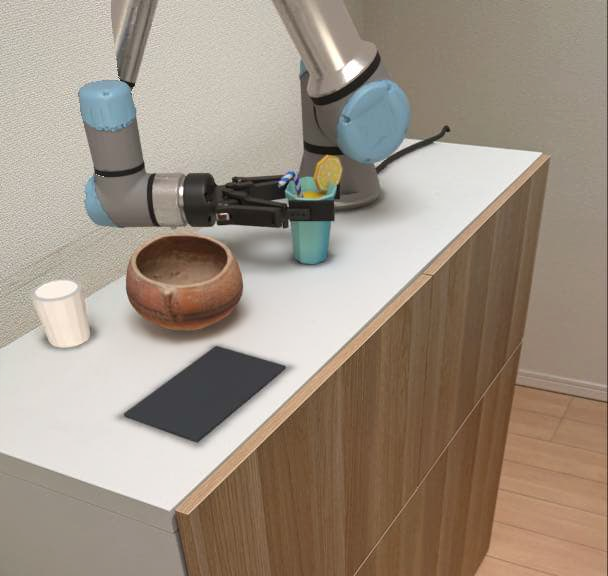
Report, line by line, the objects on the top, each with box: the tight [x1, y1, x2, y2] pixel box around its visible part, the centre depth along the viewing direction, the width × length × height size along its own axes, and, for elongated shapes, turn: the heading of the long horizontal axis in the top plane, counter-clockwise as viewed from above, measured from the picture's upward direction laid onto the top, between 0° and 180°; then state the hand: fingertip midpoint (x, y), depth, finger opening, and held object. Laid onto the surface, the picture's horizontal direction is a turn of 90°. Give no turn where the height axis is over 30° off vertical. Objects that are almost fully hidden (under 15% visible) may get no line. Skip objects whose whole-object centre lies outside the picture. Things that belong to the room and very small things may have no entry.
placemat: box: [123, 345, 287, 443], centre depth 94 cm, size 18×11×1 cm, turn 148°
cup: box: [277, 155, 343, 265], centre depth 115 cm, size 14×8×15 cm, turn 145°
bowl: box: [125, 232, 244, 331], centre depth 104 cm, size 16×16×10 cm
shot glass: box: [29, 278, 91, 349], centre depth 103 cm, size 7×7×7 cm
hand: (336, 199), depth 114 cm, fingers closed on cup, 8 cm apart
